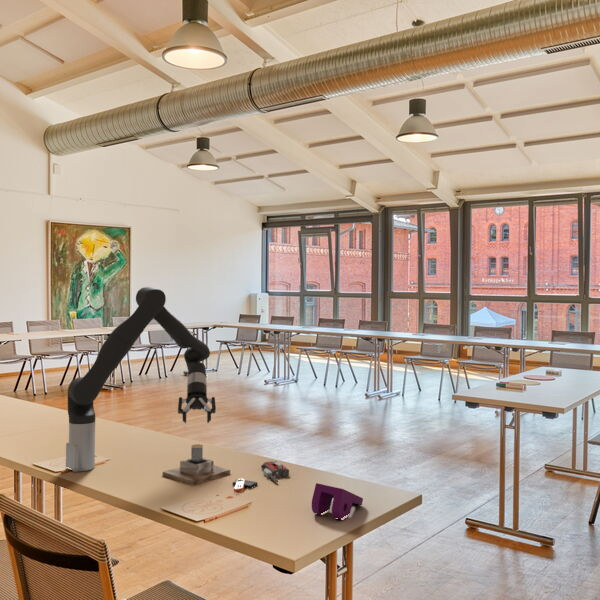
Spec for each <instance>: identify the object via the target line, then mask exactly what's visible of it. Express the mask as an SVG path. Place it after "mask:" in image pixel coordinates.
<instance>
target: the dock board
mask: <svg viewBox="0 0 600 600" xmlns="http://www.w3.org/2000/svg"><path fill="white" fill-rule="evenodd" d="M214 461H215V460H212V459H207V458H204V457H203V463H200V464H193V463H191V458H187V459H184V460H181V461H179V467H176V468H172V469H168V470H164V471H162V477H164V476H165V478H168V479H171V480H175V481H177V482H181V483H183V484H187V485H191V486H195V485H199V484H202V483H205V482H208V481H212V480H214V479H215V480H216V479H218V478H222V477H224V476H228V475H231V469H230V468H224V467H221V466H218V465H214Z"/></svg>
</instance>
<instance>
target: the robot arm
mask: <svg viewBox="0 0 600 600" xmlns="http://www.w3.org/2000/svg"><path fill="white" fill-rule="evenodd" d="M135 301H136V304H137V306H138V307H136V310H134V312H133V313H132V314H131V315H130V316H129V317H127V319H126V320H124V321H123V322H122V323H120V324H119V325H117V326H116V327H115V328H114V329H113V330H112V331H111V333H110V334H109V335H108V336H107V338H106V339H105V341H104V342H103V344H102V345H101V347H100V349H99V352H98V354H97V356H96V359H95V360H94V362H93V364H92V366H91V367H90V368H89V370H88V371H87V373H86V374H85V375H84V376H83V377H82V376H81V377H80V376H79V377H76V378H74V379H73V380H72V381H71V382H70V383H69V385H68V388H67V413H68V414H67V415H68V442H66V444H65V468H66V467H69V468H71V469H72V471H71V472H74V473H77V472H86V471H87V472H88V471H91V470H93V469H94V468H95V466H96V465H95V464H96V462H95V461H96V459H95V458H96V454H95V453H96V412H95V407H94V401H95V400H96V399H97V397H98V395H99V394H100V392H101V390H102V389H103V387H104V385H105V384H106V382H107V380H108V379H109V377H110V376H111V375H112V373H113V372H114V371H115V369H116V368H117V367H118V366H119V365H120V363H121V362H122V361H123V359H124V358H125V357H126V356H127V355H128V353H129V352H130V350H131V348H133V346H134V345H135V343H136V342H137V340H138V339H139V338H140V336H141V335H142V334H143V332H144V331H145V329H146V328H147V327H148V325H149V324H150V323H151V322H152V321H153V320H155V321H156V323H158V324H159V325H160V326H161V327H162V329H163V330H164V331H165V332H166V333H167V334H168V336H169V337H170V338H171V339H172V340H173V341H174V342H175V344H176V345H177V346H178V347H179V348H180V349H183V350H185V349H186V350H185V352H183V358H184V360H185V364H186V368H187V381H186V382H187V383H186V386H187V387H186V398H183V397H182V396H179V397H178V403H177V404H178V406H177V414H179V415H182V422H183V423H184V424H187V414H188V413H189V412H190V411H191V410H192V411H193V410H194V411H195V410H203V411H204V412H205V413H206V423H207V424H209V423H210V422H211V420H212V414H216V409H217V407H216V405H217V404H216V398H215V397H214V396H212V397H211V398H208V397H207V393H208V392H207V387H208V386H207V376H206V375H207V372H206V365H205V364H204V363H203V362H204V361H205V360H207V359H209V357H210V355H211V351H210V348H209V346H208V345H207V344H205V343H204V342H203V341H202V340H201V339H199V338H197V337H196V336H194V335H193V334H192V333H191V332H190V331H189V330H188V328H187V327H186V326H185V325H184V324H183V323H182V322H181V320H179V319H178V318H176V317H175V315H173V314H172V313H171V312H170V311H169V310H168V309H167V308H166V306H165V305H166V301H167V298H166V294H165V292H164V291H163V290H161V289H159V288H156V287H151V286H144V287H141V288H139V290H138V291H137V292H136V295H135ZM185 403H186V405H185V407H183V408H182V406H183V405H184V404H185ZM208 403H209V404H210V405H211V408H210V407H209V405H208Z"/></svg>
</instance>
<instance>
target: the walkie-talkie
mask: <svg viewBox="0 0 600 600" xmlns="http://www.w3.org/2000/svg"><path fill="white" fill-rule="evenodd" d="M261 469H262V470H263V476H264V477H265V478H266V479H271V480H272V481H274V483H279V480H278V479H277V478H286V476H287V477H289V476H290V469H289V468H288V467H286V466H285V465H283V464H282V463H281V462H280V461H277V460H272V461H265V462H263V463H262V465H261ZM276 477H277V478H276Z"/></svg>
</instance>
